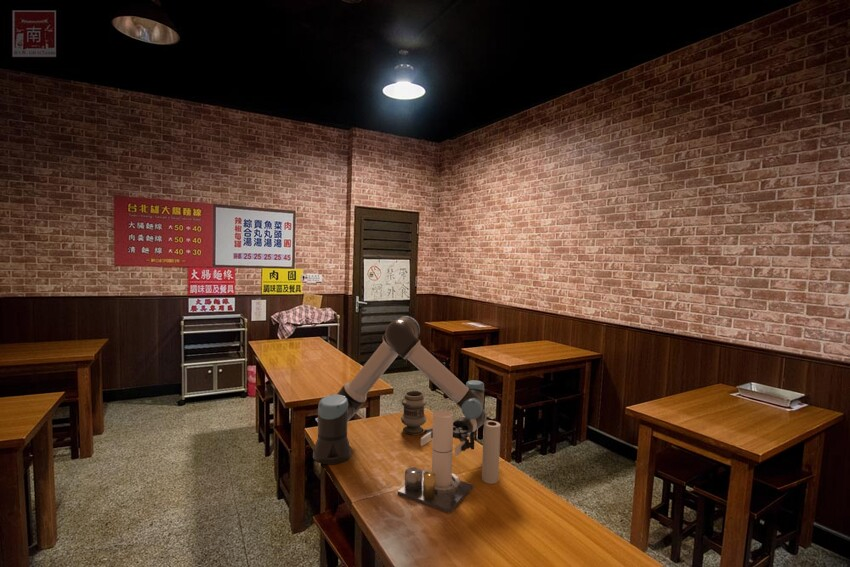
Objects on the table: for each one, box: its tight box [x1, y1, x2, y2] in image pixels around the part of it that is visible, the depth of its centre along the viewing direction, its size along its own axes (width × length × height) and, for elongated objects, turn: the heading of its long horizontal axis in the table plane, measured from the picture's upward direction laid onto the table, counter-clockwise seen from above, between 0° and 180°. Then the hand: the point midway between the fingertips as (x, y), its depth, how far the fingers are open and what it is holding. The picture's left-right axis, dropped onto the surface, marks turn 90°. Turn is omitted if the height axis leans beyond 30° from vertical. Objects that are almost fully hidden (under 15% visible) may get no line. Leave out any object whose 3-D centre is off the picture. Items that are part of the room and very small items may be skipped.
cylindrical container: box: [431, 409, 454, 488], centre depth 148 cm, size 7×7×25 cm
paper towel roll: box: [481, 418, 502, 485], centre depth 154 cm, size 7×6×21 cm
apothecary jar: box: [400, 390, 427, 436], centre depth 196 cm, size 12×12×18 cm
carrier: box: [397, 466, 474, 514], centre depth 146 cm, size 20×20×8 cm
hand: (438, 446), depth 145 cm, fingers open, 13 cm apart
